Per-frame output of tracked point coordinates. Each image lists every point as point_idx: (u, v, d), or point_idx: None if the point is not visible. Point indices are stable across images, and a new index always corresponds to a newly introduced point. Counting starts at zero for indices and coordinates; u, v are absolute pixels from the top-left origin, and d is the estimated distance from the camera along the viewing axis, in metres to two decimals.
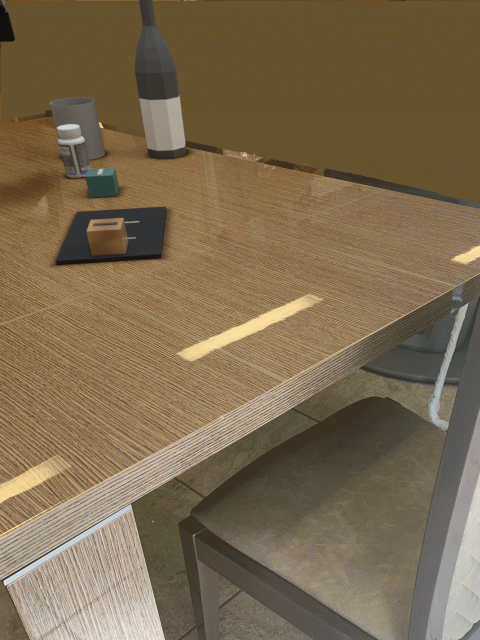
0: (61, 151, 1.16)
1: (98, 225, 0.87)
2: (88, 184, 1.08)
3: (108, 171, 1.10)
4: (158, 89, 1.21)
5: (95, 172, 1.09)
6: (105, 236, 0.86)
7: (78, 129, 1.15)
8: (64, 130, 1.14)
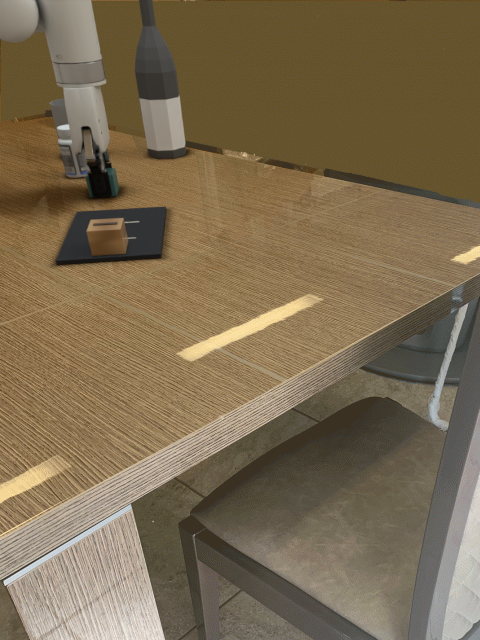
0: (61, 151, 1.16)
1: (98, 225, 0.87)
2: (88, 184, 1.08)
3: (108, 171, 1.10)
4: (158, 89, 1.21)
5: None
6: (105, 236, 0.86)
7: None
8: (64, 130, 1.14)
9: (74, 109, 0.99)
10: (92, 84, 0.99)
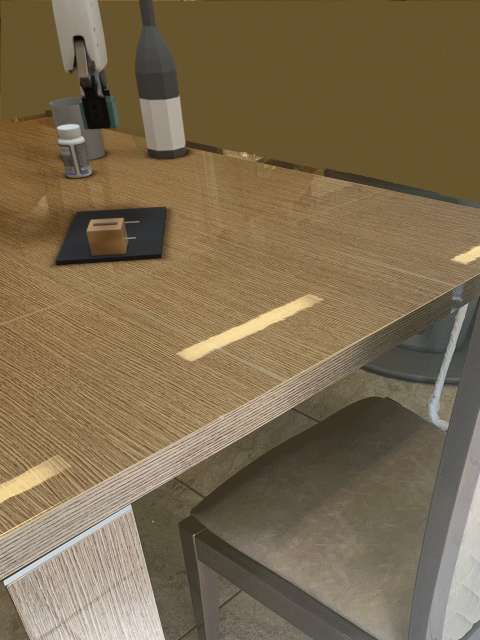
0: (61, 151, 1.16)
1: (98, 225, 0.87)
2: (82, 113, 0.91)
3: (106, 98, 0.92)
4: (158, 89, 1.21)
5: None
6: (105, 236, 0.86)
7: (78, 129, 1.15)
8: (64, 130, 1.14)
9: (64, 13, 0.81)
10: None
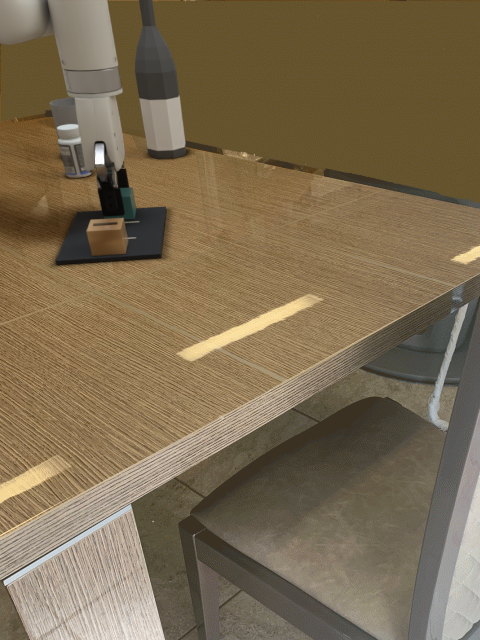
0: (61, 151, 1.16)
1: (98, 225, 0.87)
2: None
3: (125, 191, 0.99)
4: (158, 89, 1.21)
5: None
6: (105, 236, 0.86)
7: (78, 129, 1.15)
8: (64, 130, 1.14)
9: (87, 122, 0.88)
10: (107, 94, 0.88)
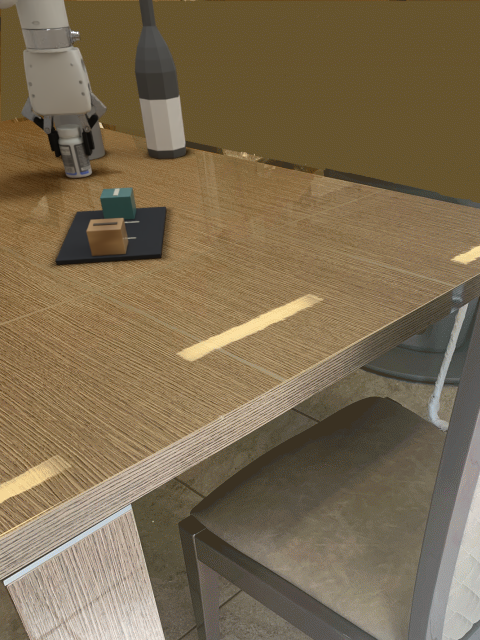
0: (61, 151, 1.16)
1: (98, 225, 0.87)
2: (103, 206, 0.97)
3: (125, 191, 0.99)
4: (158, 89, 1.21)
5: (111, 192, 0.98)
6: (105, 236, 0.86)
7: (78, 129, 1.15)
8: (64, 130, 1.14)
9: None
10: (28, 49, 1.06)
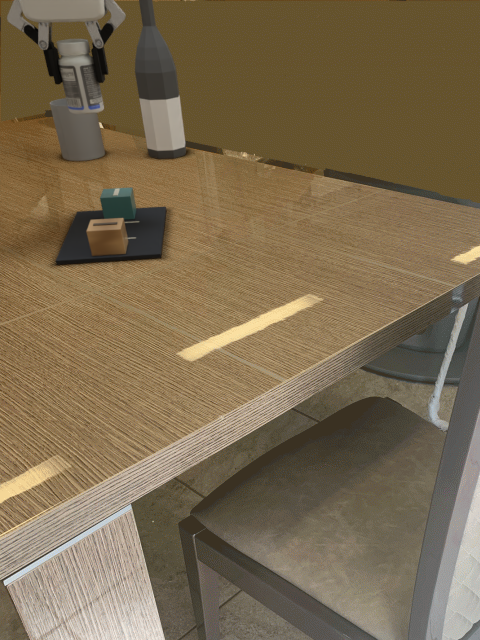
0: (63, 75, 0.84)
1: (98, 225, 0.87)
2: (103, 206, 0.97)
3: (125, 191, 0.99)
4: (158, 89, 1.21)
5: (111, 192, 0.98)
6: (105, 236, 0.86)
7: (86, 44, 0.83)
8: (67, 44, 0.82)
9: None
10: None
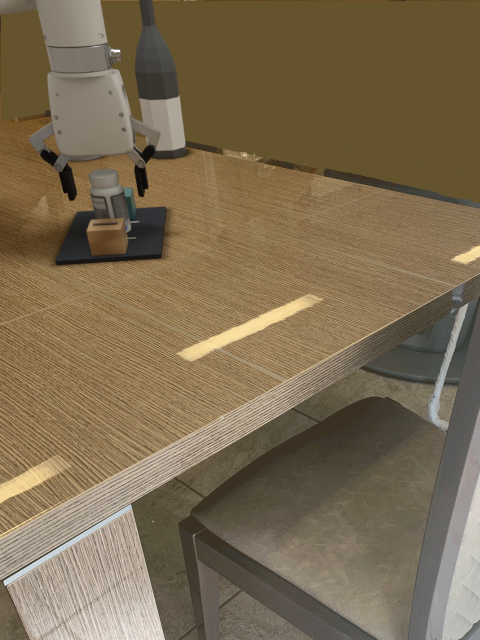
0: (94, 203, 0.91)
1: (98, 225, 0.87)
2: None
3: (125, 191, 0.99)
4: (158, 89, 1.21)
5: None
6: (105, 236, 0.86)
7: (116, 176, 0.90)
8: (98, 178, 0.89)
9: None
10: (54, 73, 0.80)
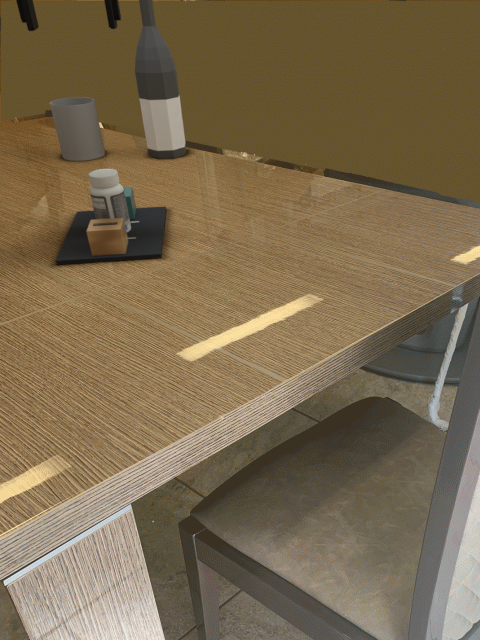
0: (94, 203, 0.91)
1: (98, 225, 0.87)
2: None
3: (125, 191, 0.99)
4: (158, 89, 1.21)
5: None
6: (105, 236, 0.86)
7: (116, 176, 0.90)
8: (98, 178, 0.89)
9: None
10: None
